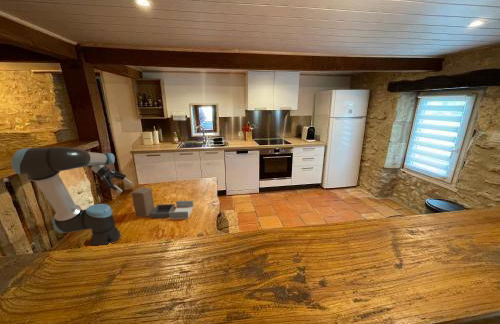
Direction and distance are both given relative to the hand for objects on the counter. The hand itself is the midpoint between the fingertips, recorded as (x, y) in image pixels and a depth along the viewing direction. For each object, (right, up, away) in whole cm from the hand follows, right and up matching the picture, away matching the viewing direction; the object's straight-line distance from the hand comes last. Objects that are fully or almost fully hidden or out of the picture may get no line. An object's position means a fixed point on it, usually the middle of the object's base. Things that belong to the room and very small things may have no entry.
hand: (126, 188), depth 148 cm
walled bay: (+39, -20, +8) cm, 44 cm away
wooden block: (+11, -21, +7) cm, 24 cm away
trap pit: (+24, -20, +7) cm, 33 cm away
